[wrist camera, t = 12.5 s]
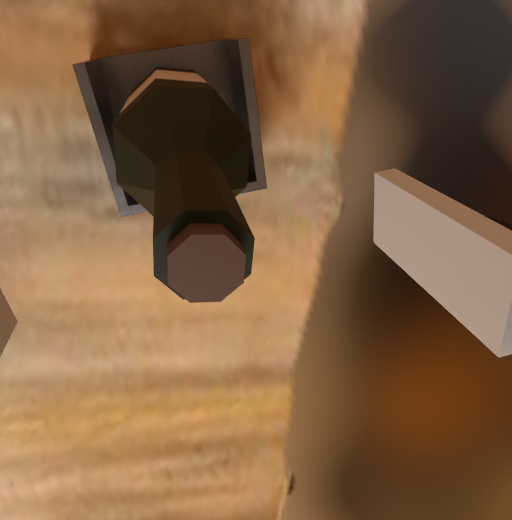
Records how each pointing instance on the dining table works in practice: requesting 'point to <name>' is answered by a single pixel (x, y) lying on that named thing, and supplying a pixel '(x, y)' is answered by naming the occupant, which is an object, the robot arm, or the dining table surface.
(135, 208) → the bottle rest
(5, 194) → the dining table surface
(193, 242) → the wine bottle
